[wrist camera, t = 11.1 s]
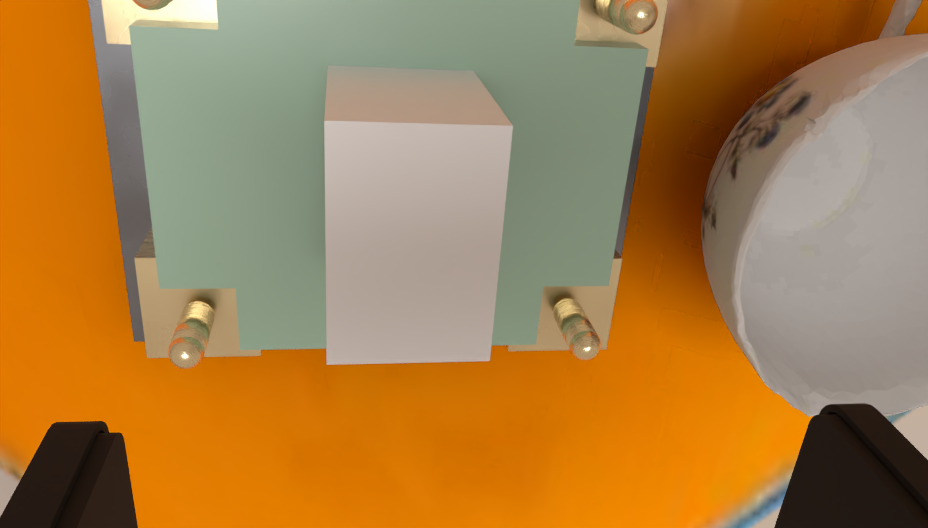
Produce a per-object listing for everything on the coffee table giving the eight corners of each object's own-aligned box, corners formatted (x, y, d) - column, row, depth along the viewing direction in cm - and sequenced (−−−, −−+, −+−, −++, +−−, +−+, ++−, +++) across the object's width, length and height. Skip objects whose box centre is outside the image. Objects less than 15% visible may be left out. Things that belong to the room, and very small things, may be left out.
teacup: (870, 319, 34) (1011, 435, 27) (604, 296, 31) (682, 417, 24) (1033, -43, 28) (1272, -18, 21) (716, -108, 25) (865, -105, 18)
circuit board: (649, -37, 22) (760, -8, 16) (590, 328, 27) (658, 448, 21) (127, -71, 20) (40, -51, 14) (172, 334, 25) (122, 471, 19)
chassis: (672, -108, 25) (783, -105, 19) (600, 321, 32) (663, 428, 26) (77, -157, 22) (-25, -172, 16) (140, 327, 29) (86, 448, 23)
